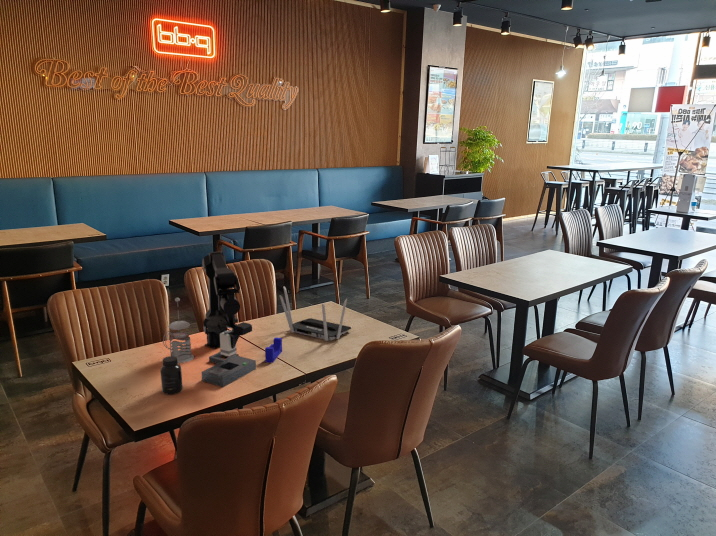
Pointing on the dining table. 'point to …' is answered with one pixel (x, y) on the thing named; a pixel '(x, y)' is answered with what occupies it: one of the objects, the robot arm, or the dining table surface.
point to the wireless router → (315, 324)
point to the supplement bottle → (171, 376)
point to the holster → (219, 357)
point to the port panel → (228, 370)
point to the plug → (226, 344)
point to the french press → (185, 352)
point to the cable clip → (273, 350)
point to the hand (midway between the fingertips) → (228, 347)
